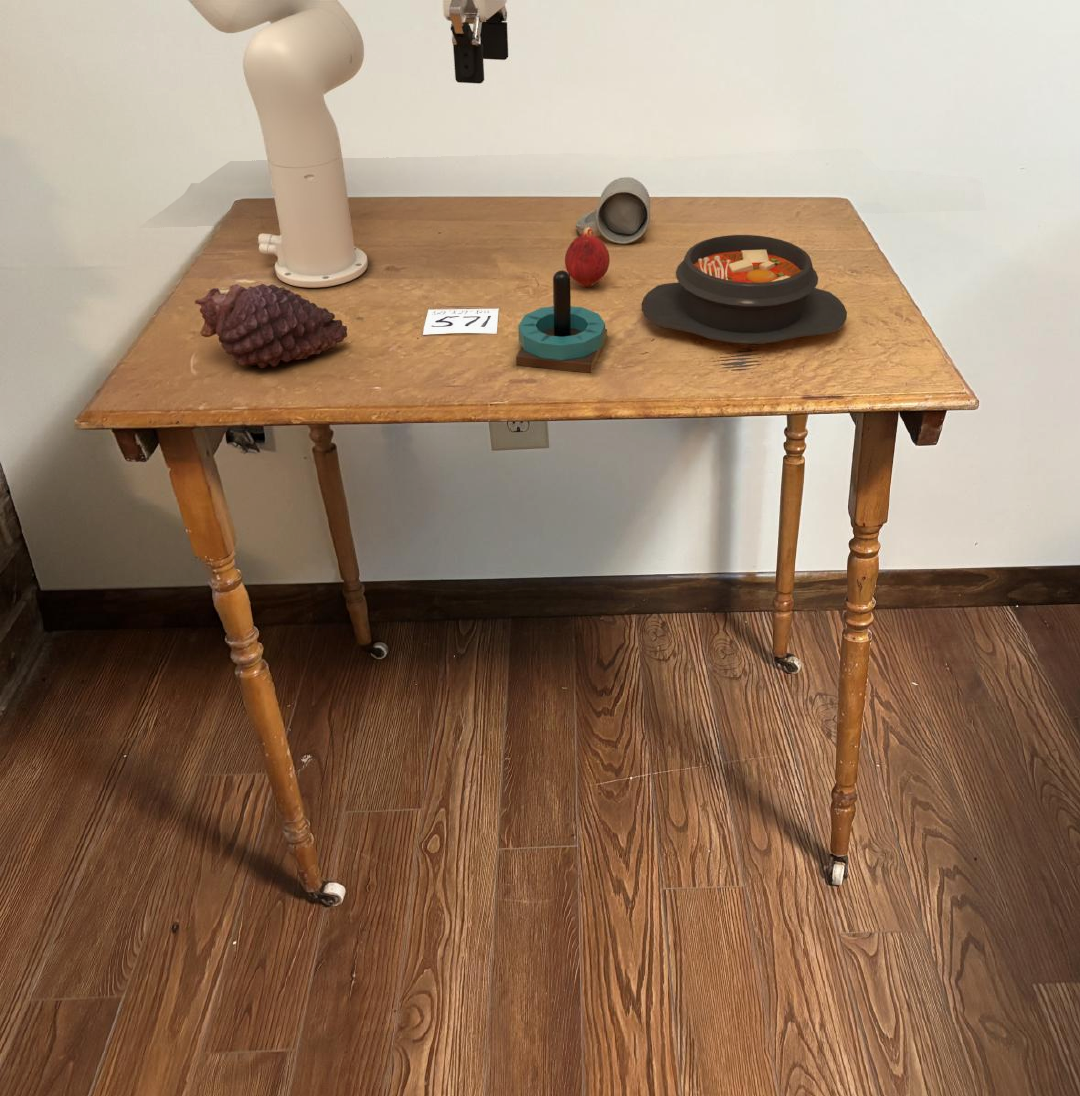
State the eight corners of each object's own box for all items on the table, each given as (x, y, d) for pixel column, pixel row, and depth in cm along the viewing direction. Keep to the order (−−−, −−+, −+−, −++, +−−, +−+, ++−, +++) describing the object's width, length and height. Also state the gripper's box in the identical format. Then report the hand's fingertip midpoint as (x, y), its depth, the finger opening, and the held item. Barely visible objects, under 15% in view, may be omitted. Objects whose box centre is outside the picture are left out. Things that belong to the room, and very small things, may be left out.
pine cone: (344, 326, 138) (355, 279, 129) (339, 394, 134) (351, 351, 125) (197, 303, 133) (198, 253, 124) (188, 374, 129) (188, 327, 120)
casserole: (635, 353, 131) (638, 287, 125) (645, 286, 145) (647, 224, 140) (850, 363, 128) (862, 296, 122) (838, 293, 142) (848, 231, 137)
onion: (605, 298, 143) (606, 239, 138) (561, 295, 144) (560, 236, 139) (611, 279, 147) (613, 221, 142) (569, 276, 148) (569, 218, 143)
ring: (510, 354, 129) (509, 339, 127) (532, 317, 136) (532, 302, 135) (593, 364, 126) (593, 348, 125) (611, 325, 134) (612, 310, 133)
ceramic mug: (649, 222, 162) (651, 170, 157) (649, 244, 156) (650, 191, 151) (578, 222, 163) (577, 171, 158) (574, 245, 156) (573, 191, 152)
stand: (516, 365, 129) (513, 284, 123) (535, 330, 136) (533, 252, 130) (591, 373, 127) (591, 291, 121) (606, 337, 134) (608, 258, 128)
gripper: (464, -115, 122) (473, 49, 133) (412, -89, 109) (427, 90, 120) (529, -114, 121) (533, 52, 131) (484, -88, 108) (492, 94, 118)
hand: (482, 70), depth 126 cm, fingers open, 9 cm apart
